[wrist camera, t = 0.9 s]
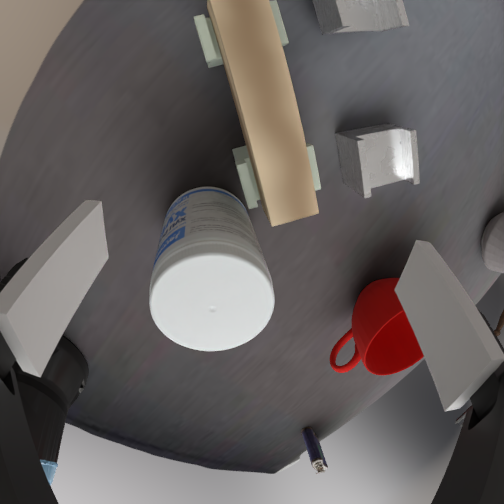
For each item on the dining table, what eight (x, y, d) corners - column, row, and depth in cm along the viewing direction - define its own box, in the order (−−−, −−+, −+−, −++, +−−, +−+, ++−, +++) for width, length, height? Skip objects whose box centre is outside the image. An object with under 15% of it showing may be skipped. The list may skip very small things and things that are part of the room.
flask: (319, 439, 65) (331, 475, 55) (307, 443, 65) (318, 479, 55) (310, 425, 60) (323, 465, 51) (298, 429, 60) (310, 470, 51)
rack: (239, 185, 33) (248, 209, 27) (195, 34, 25) (193, 16, 18) (297, 168, 33) (321, 188, 27) (259, 20, 25) (276, 0, 18)
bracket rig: (343, 182, 35) (398, 223, 24) (297, -17, 23) (342, -60, 13) (393, 170, 35) (457, 204, 25) (355, -19, 23) (416, -49, 13)
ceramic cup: (298, 305, 42) (321, 357, 34) (402, 243, 40) (443, 282, 32) (329, 354, 49) (351, 400, 40) (416, 302, 47) (448, 340, 38)
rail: (263, 209, 29) (272, 226, 25) (206, 7, 19) (208, -8, 16) (304, 197, 29) (318, 213, 25) (254, -3, 19) (263, -18, 16)
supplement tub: (169, 179, 32) (147, 240, 19) (256, 190, 34) (292, 254, 21) (162, 259, 36) (147, 349, 23) (241, 266, 38) (262, 356, 25)
